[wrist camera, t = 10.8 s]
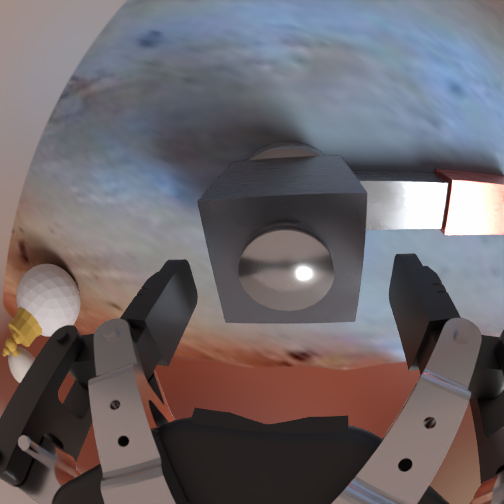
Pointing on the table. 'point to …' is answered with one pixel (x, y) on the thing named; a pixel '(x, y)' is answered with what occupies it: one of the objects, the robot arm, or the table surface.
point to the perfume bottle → (40, 312)
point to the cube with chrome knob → (286, 239)
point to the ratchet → (420, 196)
